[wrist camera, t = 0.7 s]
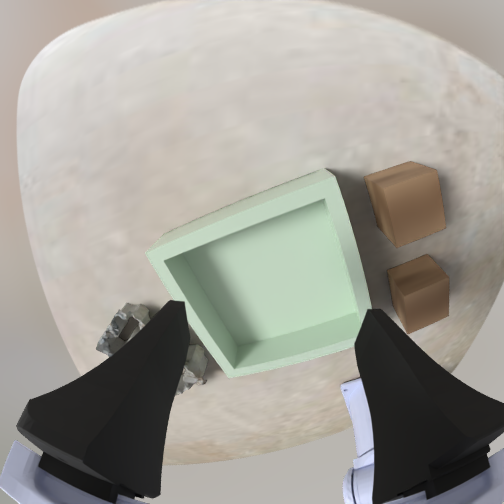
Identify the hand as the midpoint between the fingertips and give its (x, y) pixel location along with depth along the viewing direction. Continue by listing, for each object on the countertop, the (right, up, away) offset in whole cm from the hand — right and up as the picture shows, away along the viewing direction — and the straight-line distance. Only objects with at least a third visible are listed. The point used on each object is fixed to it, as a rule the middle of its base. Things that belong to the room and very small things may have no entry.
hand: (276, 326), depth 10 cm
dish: (+1, +1, +11) cm, 11 cm away
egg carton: (-11, -6, +16) cm, 20 cm away
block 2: (+13, 0, +10) cm, 16 cm away
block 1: (+10, +7, +7) cm, 14 cm away
